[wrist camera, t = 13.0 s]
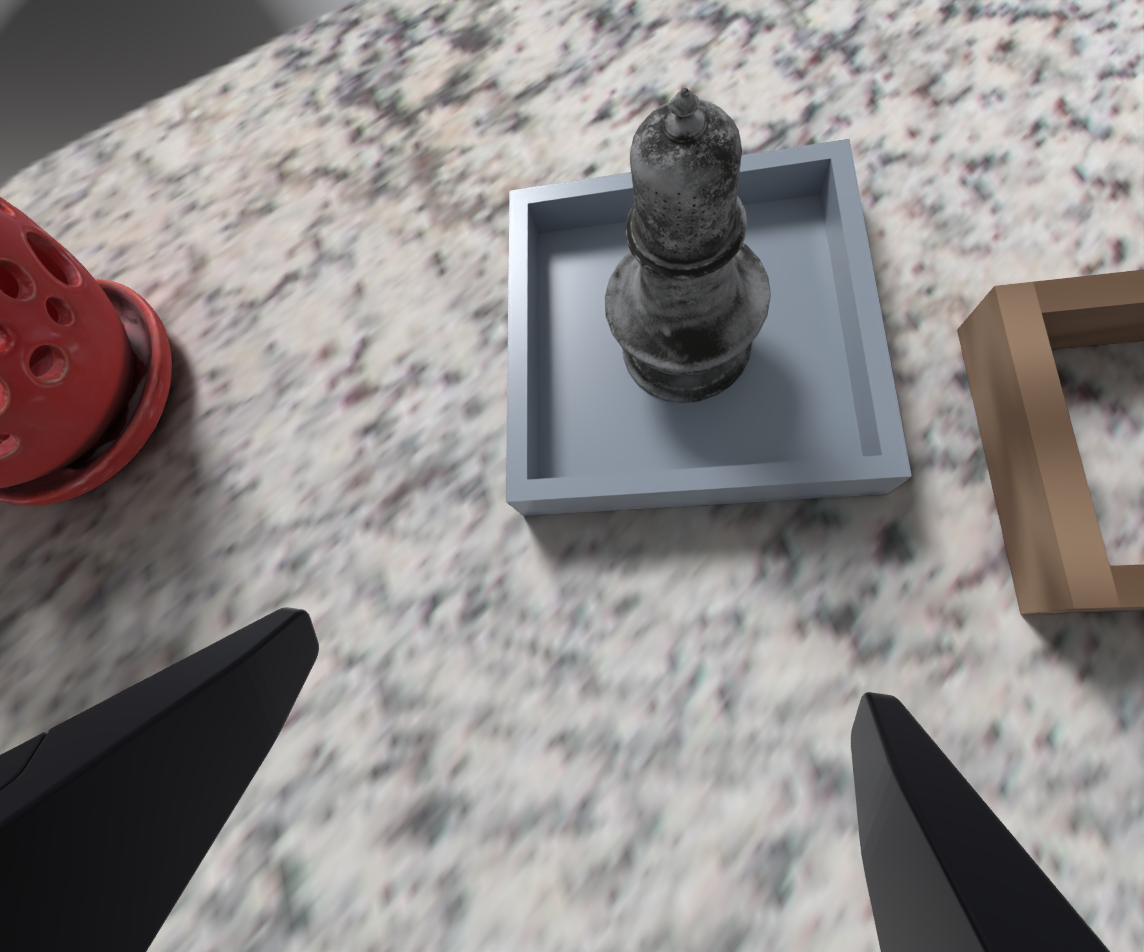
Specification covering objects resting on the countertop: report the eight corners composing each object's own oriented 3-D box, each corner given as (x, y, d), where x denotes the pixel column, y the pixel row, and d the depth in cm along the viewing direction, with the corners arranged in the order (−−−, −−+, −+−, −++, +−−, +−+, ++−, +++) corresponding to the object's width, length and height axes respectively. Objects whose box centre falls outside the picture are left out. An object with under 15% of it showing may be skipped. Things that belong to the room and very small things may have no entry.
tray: (888, 494, 22) (911, 476, 20) (523, 515, 25) (505, 501, 22) (834, 184, 26) (849, 138, 24) (524, 228, 29) (509, 190, 26)
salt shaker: (690, 257, 26) (693, -46, 15) (790, 344, 24) (883, 73, 13) (587, 343, 26) (508, 102, 14) (680, 438, 24) (674, 247, 12)
